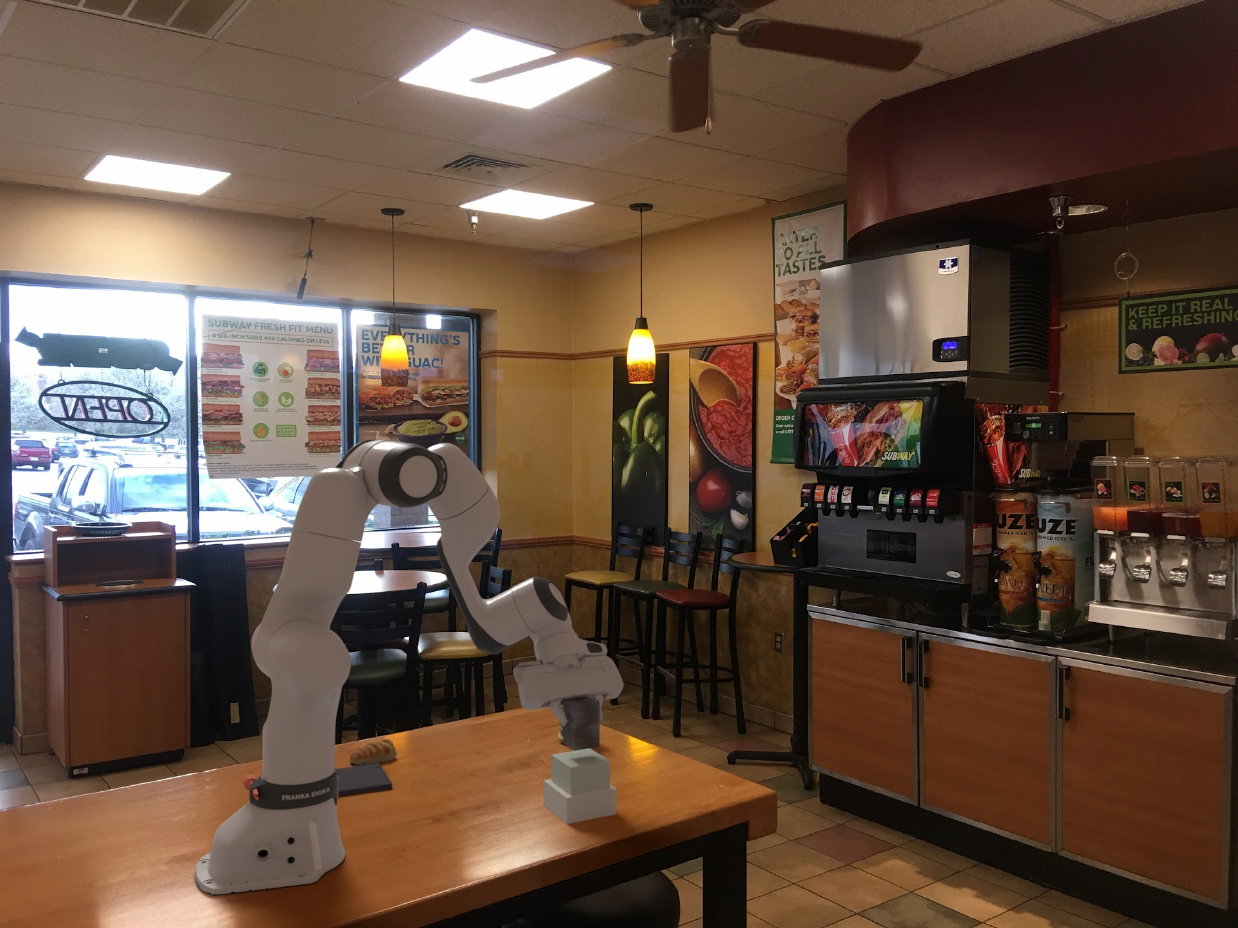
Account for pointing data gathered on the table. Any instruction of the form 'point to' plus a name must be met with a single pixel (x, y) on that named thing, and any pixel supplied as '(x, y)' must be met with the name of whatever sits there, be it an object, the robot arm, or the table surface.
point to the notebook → (362, 779)
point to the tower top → (580, 771)
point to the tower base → (579, 803)
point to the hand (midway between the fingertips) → (583, 722)
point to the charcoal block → (582, 723)
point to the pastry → (374, 753)
